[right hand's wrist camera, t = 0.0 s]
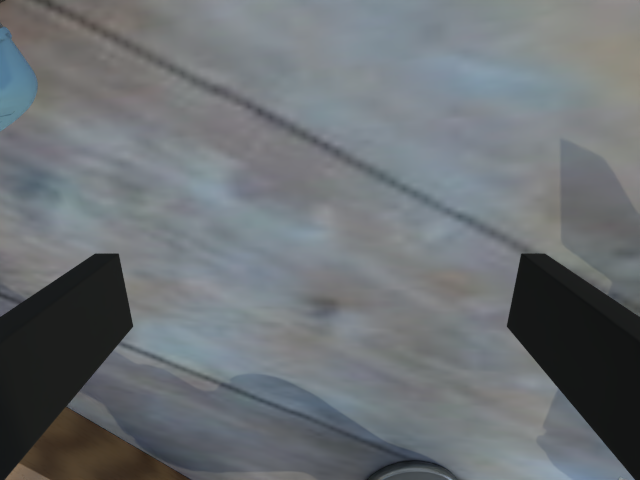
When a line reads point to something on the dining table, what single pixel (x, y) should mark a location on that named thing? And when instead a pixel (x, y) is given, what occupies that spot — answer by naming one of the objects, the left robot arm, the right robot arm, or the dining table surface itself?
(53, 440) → the beam
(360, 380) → the dining table surface
